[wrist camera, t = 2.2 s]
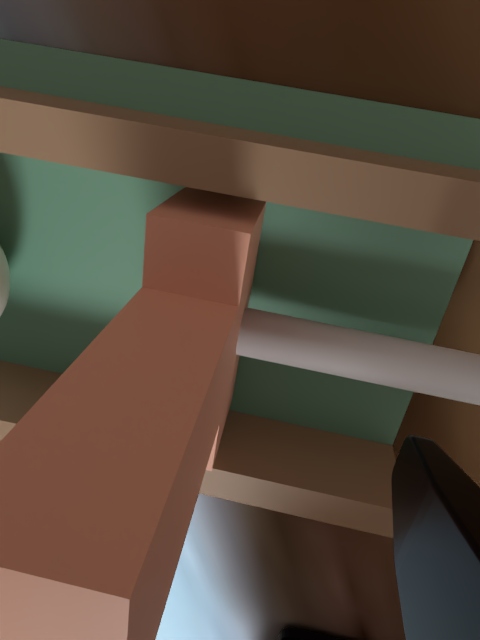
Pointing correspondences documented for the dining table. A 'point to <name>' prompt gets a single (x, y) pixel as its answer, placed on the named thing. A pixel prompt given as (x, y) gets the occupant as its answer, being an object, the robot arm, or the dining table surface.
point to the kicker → (161, 424)
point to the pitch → (272, 258)
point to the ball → (4, 281)
